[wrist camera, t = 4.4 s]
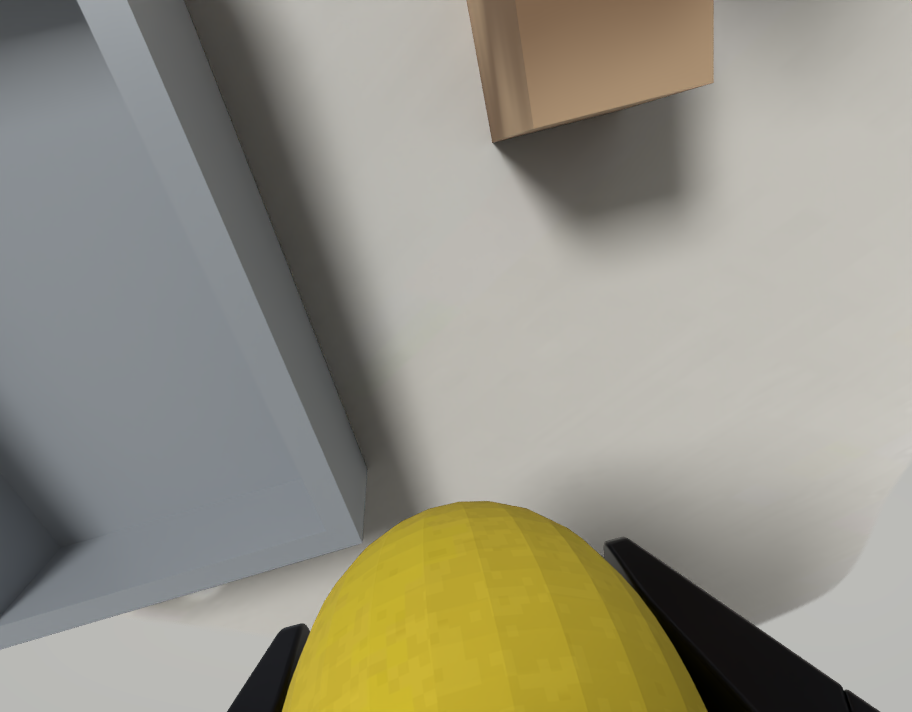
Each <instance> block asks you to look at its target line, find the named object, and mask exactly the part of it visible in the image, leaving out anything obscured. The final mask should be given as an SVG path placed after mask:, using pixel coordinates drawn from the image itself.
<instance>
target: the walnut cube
mask: <svg viewBox="0 0 912 712" xmlns="http://www.w3.org/2000/svg"><path fill="white" fill-rule="evenodd" d="M467 5H468V11H469V16H470V22H471V27H472V33H473V38H474V44H475V49H476V55H477V60H478V66H479V71H480V77H481V82H482V88H483V93H484V99H485V104H486V110H487V115H488V121H489V126H490V132H491V137H492V143H494V142H498V141H502V140H506V139H510V138H514V137H518V136H522V135H525V134H529V133H533V132H537V131H541V130H545V129H549V128H553V127H557V126H561V125H564V124H568V123H572V122H576V121H580V120H584V119H588V118H592V117H596V116H600V115H604V114H607V113H611V112H615V111H619V110H623V109H626V108H630V107H633V106H636V105H640V104H643V103H647V102H650V101H653V100H657V99H660V98H663V97H667V96H670V95H674V94H677V93H680V92H684V91H687V90H691V89H694V88H697V87H701V86H704V85H707V84H711V83H713V0H467Z"/></svg>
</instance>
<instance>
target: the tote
mask: <svg viewBox="0 0 912 712" xmlns="http://www.w3.org/2000/svg"><path fill="white" fill-rule="evenodd" d="M366 482H367V467H366V464H365V462H364V459H363V457H362V454H361V452H360V449H359V446H358V444H357V441H356V439H355V436H354V434H353V431H352V429H351V426H350V423H349V421H348V418H347V416H346V413H345V411H344V408H343V406H342V403H341V400H340V398H339V395H338V393H337V390H336V388H335V385H334V383H333V380H332V377H331V375H330V372H329V370H328V367H327V365H326V362H325V360H324V357H323V354H322V352H321V349H320V347H319V344H318V342H317V339H316V337H315V334H314V331H313V329H312V326H311V324H310V321H309V319H308V316H307V314H306V311H305V308H304V306H303V303H302V301H301V298H300V296H299V293H298V291H297V288H296V285H295V283H294V280H293V278H292V275H291V273H290V270H289V268H288V265H287V262H286V260H285V257H284V255H283V252H282V250H281V247H280V244H279V242H278V239H277V237H276V234H275V232H274V229H273V227H272V224H271V221H270V219H269V216H268V214H267V211H266V209H265V206H264V204H263V201H262V198H261V196H260V193H259V191H258V188H257V186H256V183H255V181H254V178H253V175H252V173H251V170H250V168H249V165H248V163H247V160H246V158H245V155H244V152H243V150H242V147H241V145H240V142H239V140H238V137H237V135H236V132H235V129H234V127H233V124H232V122H231V119H230V117H229V114H228V112H227V109H226V106H225V104H224V101H223V99H222V96H221V94H220V91H219V89H218V86H217V83H216V81H215V78H214V76H213V73H212V71H211V68H210V66H209V63H208V60H207V58H206V55H205V53H204V50H203V48H202V45H201V43H200V40H199V37H198V35H197V32H196V30H195V27H194V25H193V22H192V19H191V17H190V14H189V12H188V9H187V7H186V4H185V2H184V0H0V649H4V648H7V647H11V646H14V645H17V644H21V643H24V642H28V641H31V640H34V639H38V638H41V637H44V636H48V635H52V634H55V633H58V632H62V631H65V630H69V629H72V628H75V627H79V626H82V625H86V624H89V623H92V622H96V621H99V620H103V619H106V618H110V617H113V616H116V615H120V614H123V613H127V612H130V611H133V610H137V609H140V608H144V607H147V606H150V605H154V604H157V603H161V602H164V601H167V600H171V599H174V598H178V597H181V596H184V595H188V594H191V593H195V592H198V591H201V590H205V589H208V588H212V587H215V586H218V585H222V584H225V583H229V582H232V581H235V580H239V579H242V578H246V577H249V576H252V575H256V574H259V573H263V572H266V571H269V570H273V569H276V568H280V567H283V566H286V565H290V564H293V563H297V562H300V561H303V560H307V559H310V558H314V557H317V556H320V555H324V554H327V553H331V552H334V551H338V550H341V549H344V548H348V547H351V546H355V545H358V544H361V543H362V540H363V526H364V511H365V497H366Z"/></svg>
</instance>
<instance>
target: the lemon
mask: <svg viewBox="0 0 912 712" xmlns="http://www.w3.org/2000/svg"><path fill="white" fill-rule="evenodd" d="M282 712H708V711H707V709H706V707H705V705H704V703H703V701H702V699H701V697H700V695H699V693H698V691H697V689H696V687H695V685H694V683H693V681H692V679H691V677H690V674H689V673H688V671H687V669H686V667H685V665H684V664H683V662H682V660H681V658H680V656H679V655H678V653H677V651H676V649H675V647H674V646H673V644H672V642H671V641H670V639H669V638H668V636H667V634H666V633H665V631H664V630H663V628H662V627H661V625H660V624H659V622H658V621H657V619H656V617H655V616H654V615H653V613H652V612H651V611H650V609H649V608H648V607H647V605H646V604H645V603H644V601H643V600H642V599H641V597H640V596H639V595H638V593H637V592H636V591H635V590H634V589H633V588H632V587H631V585H630V584H629V583H628V582H627V581H626V580H625V579H624V577H623V576H622V575H621V574H620V573H619V572H618V571H617V570H616V569H614V568H613V567H612V566H611V565H610V564H609V563H608V562H607V561H606V560H605V559H604V558H603V557H602V556H601V555H600V554H598V553H597V552H596V551H595V550H594V549H593V548H592V547H591V546H590V545H589V544H588V543H586V542H585V541H584V540H583V539H582V538H581V537H579V536H578V535H576V534H575V533H574V532H572V531H571V530H570V529H568V528H566V527H564V526H562V525H560V524H558V523H556V522H554V521H552V520H550V519H548V518H546V517H543V516H541V515H539V514H537V513H535V512H533V511H531V510H529V509H526V508H521V507H517V506H511V505H506V504H501V503H496V502H490V501H474V502H456V503H452V504H448V505H443V506H439V507H434V508H430V509H427V510H425V511H423V512H421V513H419V514H417V515H414V516H412V517H410V518H408V519H406V520H404V521H401V522H400V523H399V524H397V525H396V526H394V527H393V528H392V529H390V530H389V531H388V532H386V533H385V534H384V535H382V536H381V537H380V538H378V539H377V540H376V541H374V542H373V543H371V544H370V545H369V546H368V547H367V548H366V549H365V550H364V551H363V552H362V553H361V554H360V555H359V556H358V558H357V559H356V560H355V561H354V562H353V564H352V565H351V566H350V567H349V568H348V570H347V571H346V572H345V573H344V574H343V576H342V577H341V578H340V579H339V581H338V582H337V583H336V584H335V586H334V587H333V589H332V590H331V592H330V593H329V595H328V597H327V598H326V600H325V601H324V603H323V605H322V607H321V609H320V612H319V614H318V616H317V618H316V620H315V622H314V624H313V627H312V629H311V631H310V634H309V636H308V639H307V641H306V644H305V646H304V648H303V651H302V653H301V656H300V658H299V661H298V664H297V666H296V669H295V672H294V674H293V677H292V680H291V682H290V686H289V689H288V692H287V696H286V699H285V703H284V706H283V709H282Z"/></svg>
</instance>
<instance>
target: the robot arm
mask: <svg viewBox="0 0 912 712" xmlns="http://www.w3.org/2000/svg"><path fill="white" fill-rule="evenodd" d="M604 559H605V560H606V561H607V562H608V563H609V564H610V565H611V566H612V567H613V568H614V569H616V570H617V571H618V572H619V573H620V574H621V575H622V576H623V577H624V579H625V580H626V581H627V582H628V583H629V584H630V585H631V587H632V588H633V589H634V590H635V591H636V592H637V593H638V595H639V596H640V597H641V599H642V600H643V601H644V603H645V604H646V605H647V607H648V608H649V609H650V611H651V612H652V613H653V615H654V616H655V617H656V619H657V621H658V622H659V624H660V625H661V627H662V628H663V630H664V631H665V633H666V634H667V636H668V638H669V639H670V641H671V642H672V644H673V646H674V647H675V649H676V651H677V653H678V655H679V656H680V658H681V660H682V662H683V664H684V665H685V667H686V669H687V671H688V673H689V674H690V677H691V679H692V681H693V683H694V685H695V687H696V689H697V691H698V693H699V695H700V697H701V699H702V701H703V703H704V705H705V707H706V709H707V711H708V712H880V711H878V710H877V709H875V708H874V707H872V706H871V705H870V704H868V703H866V702H865V701H864V700H862V699H861V698H859V697H858V696H856V695H855V694H854V693H852V692H851V691H849V690H843V688H842V686H841V685H840V684H839V683H837V682H836V681H834V680H833V679H831V678H830V677H829V676H827V675H826V674H824V673H823V672H821V671H820V670H818V669H817V668H815V667H814V666H813V665H811V664H810V663H808V662H807V661H805V660H804V659H802V658H801V657H799V656H798V655H797V654H795V653H794V652H792V651H791V650H789V649H788V648H786V647H785V646H784V645H782V644H781V643H779V642H778V641H776V640H775V639H773V638H772V637H771V636H769V635H767V634H766V633H765V632H763V631H762V630H760V629H759V628H757V627H756V626H755V625H753V624H752V623H750V622H749V621H747V620H746V619H744V618H743V617H742V616H740V615H739V614H737V613H736V612H734V611H733V610H731V609H730V608H728V607H727V606H726V605H724V604H723V603H721V602H720V601H718V600H717V599H715V598H714V597H712V596H711V595H710V594H708V593H707V592H705V591H704V590H702V589H701V588H699V587H698V586H697V585H695V584H694V583H692V582H691V581H689V580H688V579H686V578H685V577H683V576H682V575H681V574H679V573H678V572H676V571H675V570H673V569H672V568H670V567H669V566H668V565H666V564H665V563H663V562H662V561H660V560H659V559H657V558H656V557H654V556H653V555H652V554H650V553H649V552H647V551H646V550H644V549H643V548H641V547H640V546H638V545H637V544H636V543H634V542H633V541H631V540H630V539H628V538H626V537H620V538H616V539H612V540H609V541H606V542H605V543H604ZM309 634H310V630H309V628H308V627H307V625H305V624H303V623H301V624H297V625H293V626H290V627H286V628H284V629H282V630H281V631H280V632H279V633H278V634H277V636H276V637H275V639H274V640H273V642H272V643H271V645H270V647H269V648H268V649H267V651H266V653H265V654H264V656H263V657H262V659H261V660H260V662H259V663H258V665H257V667H256V668H255V669H254V671H253V672H252V674H251V676H250V677H249V679H248V680H247V682H246V683H245V685H244V686H243V688H242V689H241V691H240V692H239V694H238V696H237V697H236V699H235V700H234V702H233V703H232V705H231V706H230V708H229V709H228V711H227V712H282V709H283V706H284V703H285V699H286V696H287V692H288V689H289V686H290V682H291V680H292V677H293V674H294V672H295V669H296V666H297V664H298V661H299V658H300V656H301V653H302V651H303V648H304V646H305V644H306V641H307V639H308V636H309Z"/></svg>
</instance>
